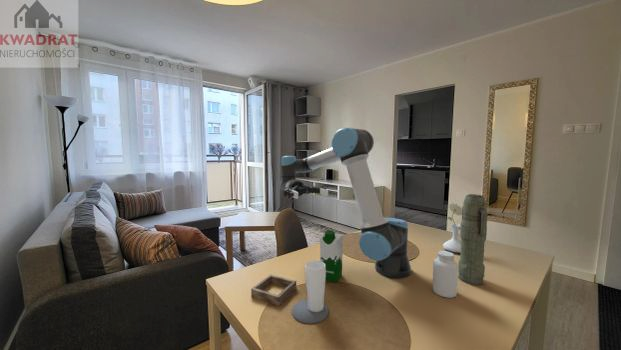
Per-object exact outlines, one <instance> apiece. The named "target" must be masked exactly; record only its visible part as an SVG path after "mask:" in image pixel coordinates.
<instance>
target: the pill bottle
mask: <svg viewBox="0 0 621 350" xmlns="http://www.w3.org/2000/svg"><path fill="white" fill-rule="evenodd" d="M432 270H433V271H432V291H433V293H435V294H436V295H438V296H439V297H444V298H449V299H450V298H451V299H452V298H454V297H457V295H458V294H457V293H458V275H459V272H458V263H457V262H456V261H455V254H454V252H452V251H449V250H447V251H446V250H439V251H438V252H437V258H435V259H434V260H433V267H432Z"/></svg>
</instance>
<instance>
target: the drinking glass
mask: <svg viewBox="0 0 621 350" xmlns="http://www.w3.org/2000/svg"><path fill="white" fill-rule="evenodd" d="M304 266H305V268H304V269H305V270H304V276H305V277H304V278H305V286H306V287H305V288H306V296H307V297H306V299H308V309H309V310H310V311H312V312H320V311H322V310H323V308H324V302H325V292H326V291H325V290H326V281H325V280H326V267H325V263H323V262H321V261H320V260H310V261H308V262H306V263H305V265H304Z"/></svg>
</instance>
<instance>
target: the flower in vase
mask: <svg viewBox="0 0 621 350" xmlns="http://www.w3.org/2000/svg"><path fill="white" fill-rule="evenodd" d="M448 208H449V210H450V212H451V213H452V215H451V216H447V218H446V219H447V220H449V221H451V222H453V223H450V226H451V227H452V237H451V239H449V240H446V241H445V242H444V243H443V244H442V247H443V249H444V250H447V251H448V252H451V253H458V254H459V253H460V254H461V241H460V239H459V232H460V227H461V224H459V223H458V222H460V220H461V219H458V220H456V221H454V215H456V216H462V207H461V206H460V205H458V203H455V202H451V203H449V204H448Z"/></svg>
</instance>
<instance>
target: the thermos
mask: <svg viewBox="0 0 621 350" xmlns="http://www.w3.org/2000/svg"><path fill="white" fill-rule="evenodd" d="M462 203H463V204H462V205H463V206H462V207H461V208H462V215H461V222H460V225H461V227H460V228H459V236H460V240H461V253H460V256H459V257H460V258H459V260H458V263H457V265H458V274H457V279H459V280H460V281H462V282H463V283H465V284H468V285H472V286H482V285H483V284H484V278H485V268H486V267H485V263H484V260H485V259H484V258H485V257H484V255H485V242H486V240H487V235H488V234H487V231H488V227H487V225H488V224H487V223H488V214H489V213H488V211H487V201H486V199H485V196H483V195H481V194H473V193H472V194H471V193H469V194H467V195H466V196H465V198H464V200H463V202H462Z"/></svg>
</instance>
